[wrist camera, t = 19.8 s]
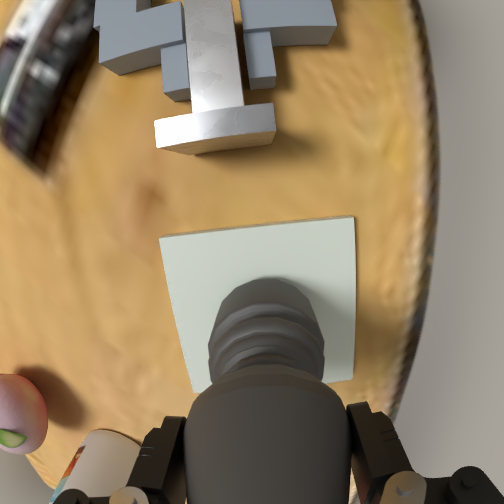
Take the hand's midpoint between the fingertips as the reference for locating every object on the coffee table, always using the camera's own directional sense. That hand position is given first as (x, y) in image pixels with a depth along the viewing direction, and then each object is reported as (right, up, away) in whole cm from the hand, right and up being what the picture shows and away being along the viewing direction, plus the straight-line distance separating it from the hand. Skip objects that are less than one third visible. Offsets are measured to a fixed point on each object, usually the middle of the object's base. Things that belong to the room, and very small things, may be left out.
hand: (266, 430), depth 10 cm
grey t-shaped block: (-2, +17, +7) cm, 18 cm away
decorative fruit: (-24, -8, +14) cm, 28 cm away
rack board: (0, +3, +11) cm, 11 cm away
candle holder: (0, +2, +9) cm, 9 cm away
